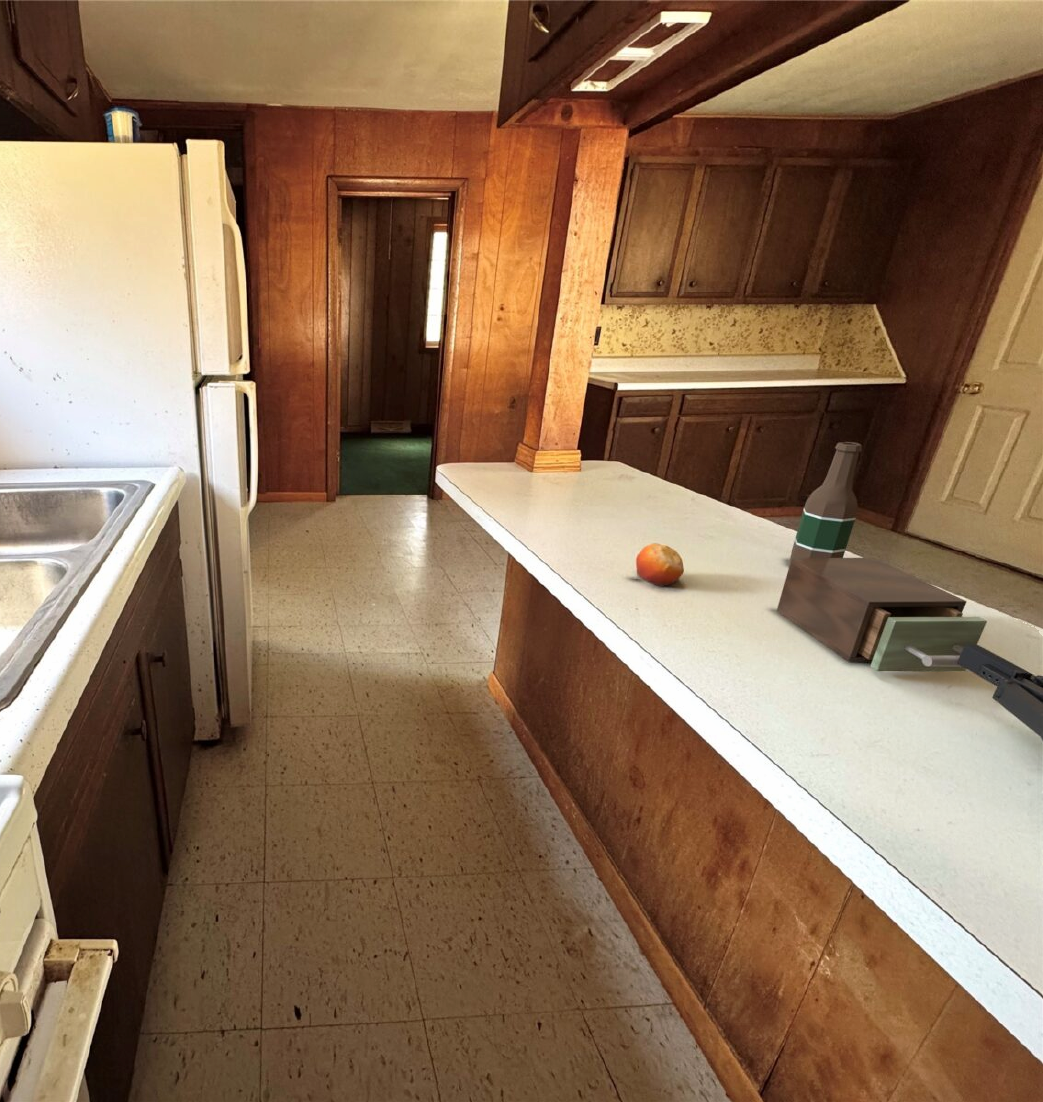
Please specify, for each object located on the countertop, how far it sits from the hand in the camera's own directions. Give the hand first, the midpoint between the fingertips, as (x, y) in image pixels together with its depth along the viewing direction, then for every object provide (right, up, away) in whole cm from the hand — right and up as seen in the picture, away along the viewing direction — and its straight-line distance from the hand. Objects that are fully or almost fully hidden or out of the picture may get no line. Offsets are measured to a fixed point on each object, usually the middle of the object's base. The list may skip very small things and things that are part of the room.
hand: (967, 654), depth 76 cm
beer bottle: (+15, +10, +41) cm, 44 cm away
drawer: (+1, -1, +11) cm, 11 cm away
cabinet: (+1, 0, +17) cm, 17 cm away
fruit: (-18, +7, +37) cm, 42 cm away
